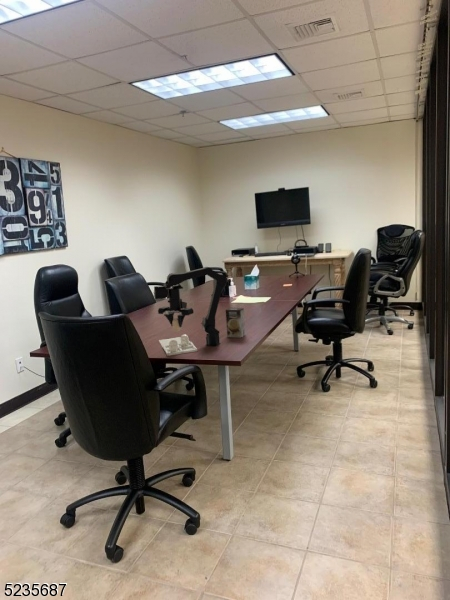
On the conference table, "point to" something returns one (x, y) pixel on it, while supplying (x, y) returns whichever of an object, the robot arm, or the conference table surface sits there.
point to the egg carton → (180, 349)
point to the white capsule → (173, 346)
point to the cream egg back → (184, 340)
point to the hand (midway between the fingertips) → (176, 326)
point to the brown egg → (176, 325)
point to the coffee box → (235, 322)
